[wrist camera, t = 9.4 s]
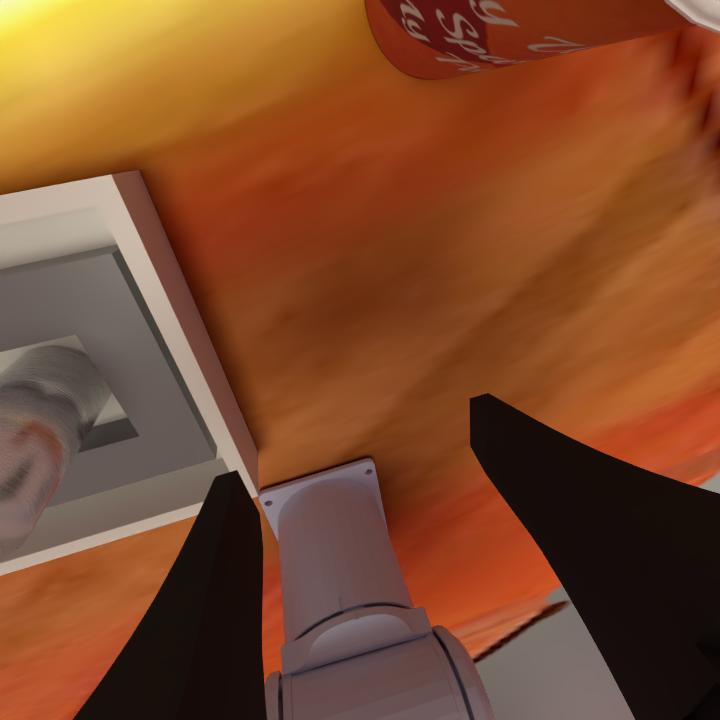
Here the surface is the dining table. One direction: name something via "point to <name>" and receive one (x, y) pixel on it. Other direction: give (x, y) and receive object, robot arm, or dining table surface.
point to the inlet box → (118, 362)
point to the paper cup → (517, 29)
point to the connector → (42, 431)
